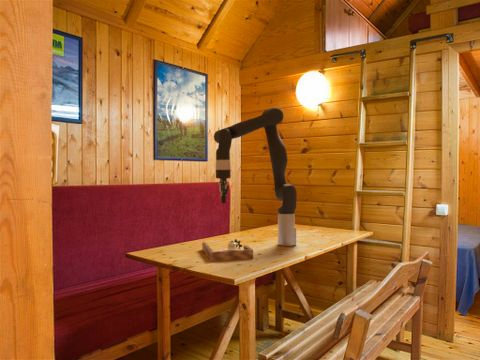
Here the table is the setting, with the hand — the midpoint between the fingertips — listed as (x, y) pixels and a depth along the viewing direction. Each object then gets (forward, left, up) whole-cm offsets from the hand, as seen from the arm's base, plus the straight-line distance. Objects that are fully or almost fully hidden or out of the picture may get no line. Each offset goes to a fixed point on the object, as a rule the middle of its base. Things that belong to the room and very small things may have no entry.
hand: (223, 203), depth 187 cm
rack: (0, +6, -24) cm, 25 cm away
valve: (-3, +8, -25) cm, 26 cm away
